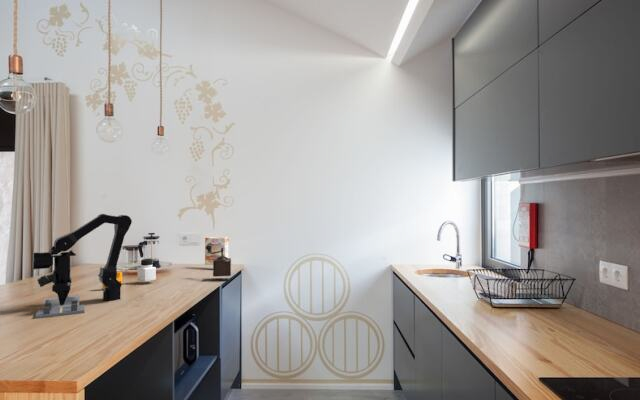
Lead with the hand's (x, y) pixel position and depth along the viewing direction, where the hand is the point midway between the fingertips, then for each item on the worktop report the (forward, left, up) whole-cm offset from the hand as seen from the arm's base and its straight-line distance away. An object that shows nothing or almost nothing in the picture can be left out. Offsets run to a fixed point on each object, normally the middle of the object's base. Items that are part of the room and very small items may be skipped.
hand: (62, 303), depth 167 cm
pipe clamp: (-20, -36, -2) cm, 41 cm away
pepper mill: (-78, -39, -1) cm, 87 cm away
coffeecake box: (-89, -79, -1) cm, 119 cm away
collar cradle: (0, +11, -1) cm, 11 cm away
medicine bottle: (-39, -43, -1) cm, 58 cm away
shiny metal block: (0, 0, -1) cm, 1 cm away
